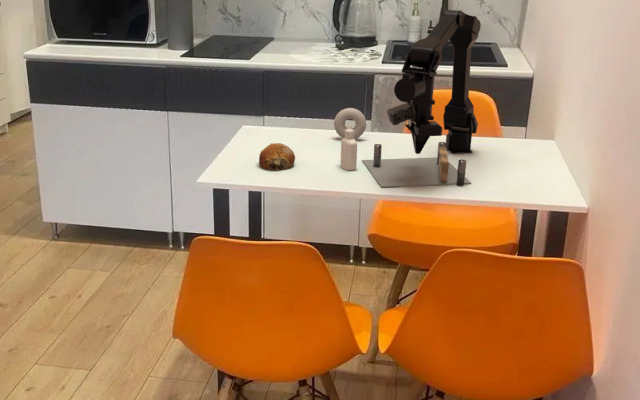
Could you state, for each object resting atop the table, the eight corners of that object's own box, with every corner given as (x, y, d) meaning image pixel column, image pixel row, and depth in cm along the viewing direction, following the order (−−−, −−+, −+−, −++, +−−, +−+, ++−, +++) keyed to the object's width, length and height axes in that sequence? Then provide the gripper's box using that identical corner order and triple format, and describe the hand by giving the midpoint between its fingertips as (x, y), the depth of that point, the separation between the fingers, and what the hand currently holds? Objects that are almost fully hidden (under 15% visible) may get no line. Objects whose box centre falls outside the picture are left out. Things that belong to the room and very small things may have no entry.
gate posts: (442, 164, 201) (444, 141, 199) (465, 185, 185) (467, 161, 182) (372, 166, 198) (373, 144, 196) (389, 189, 181) (390, 164, 179)
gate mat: (443, 158, 206) (443, 157, 206) (471, 184, 186) (471, 182, 186) (362, 161, 202) (362, 160, 202) (381, 187, 182) (381, 186, 182)
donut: (365, 138, 224) (367, 107, 220) (365, 141, 221) (366, 110, 217) (334, 137, 225) (334, 106, 221) (333, 140, 221) (333, 108, 218)
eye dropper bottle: (356, 164, 199) (357, 122, 195) (356, 171, 194) (357, 128, 190) (340, 164, 200) (341, 122, 195) (340, 170, 194) (341, 127, 190)
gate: (437, 163, 198) (439, 146, 197) (444, 163, 198) (445, 146, 196) (440, 181, 184) (442, 162, 183) (447, 181, 184) (449, 163, 183)
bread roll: (298, 177, 200) (303, 149, 200) (282, 171, 190) (288, 142, 191) (266, 171, 204) (272, 144, 204) (250, 166, 194) (256, 137, 195)
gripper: (381, 87, 190) (379, 144, 196) (401, 104, 173) (397, 165, 178) (422, 86, 192) (418, 143, 197) (445, 103, 175) (440, 164, 180)
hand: (417, 153), depth 188 cm, fingers closed
